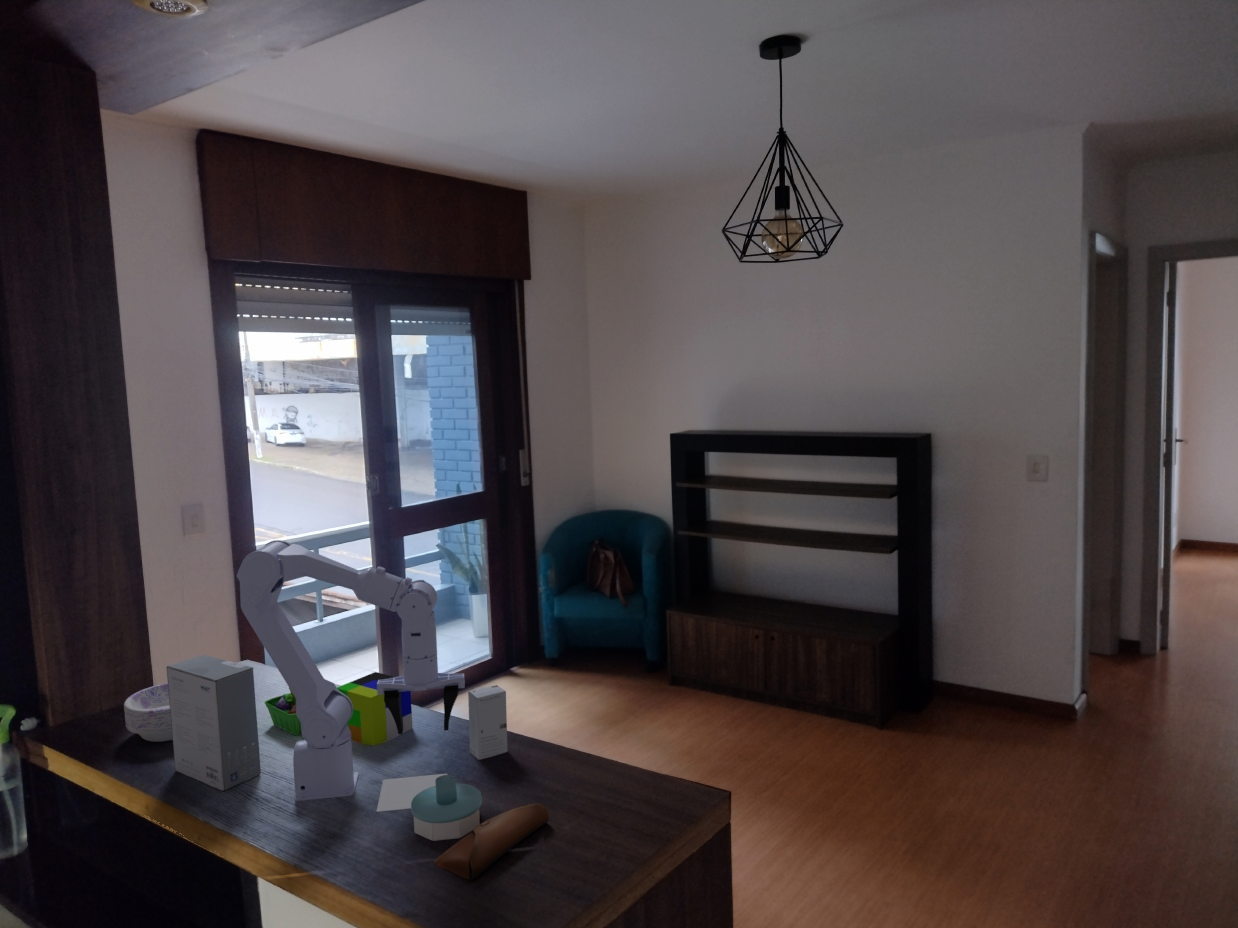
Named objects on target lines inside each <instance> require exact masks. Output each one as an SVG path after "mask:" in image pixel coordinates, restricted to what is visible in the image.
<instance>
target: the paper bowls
mask: <svg viewBox="0 0 1238 928" xmlns="http://www.w3.org/2000/svg"><path fill="white" fill-rule="evenodd" d="M123 710H124V720H125V727H126V729H127V730H128V731H129V732H130V733H133V734H135V735H137V734H138V735H139V736H140V737H141V738H142V739H143V740H145V741H149V742H155V743H157V742H161V743H162V742H168V741H173V738H172V726H171V715H170V703H169V691H168V682H166V683H161V684H156V685H153V686H150V687H147V688H143V689H140V690H139V691H137V692H135V693H133V694H131V695H130V696H128V698H126V699H125V701H124V703H123Z"/></svg>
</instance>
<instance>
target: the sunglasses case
mask: <svg viewBox="0 0 1238 928" xmlns="http://www.w3.org/2000/svg"><path fill="white" fill-rule="evenodd" d="M549 817H550V815H549V812H548V810H547V808H546V807H545V806H544V805H543V804H541V803H531V804H527V805H523V806H518V807H516V808H512V809H509V810H507V811H504V812H502V813H500V814H498V815H495V816H493V817H490V818H489V819H486V820H484V821H482V822H481V823H480V825H478V826H476V827H475V828H474V829H473V830H472V831H471V832H469V833H467V834H466V835H465V836H463V837H462V838H461V839H460V840H458V841H457V842H455V844H453V845H451V847H449V848H447V850H445V851H444V852H443V853H442V854H441V855H440V856H438V857H437V858H436V859H435V860H434V862H433V864H434V867H439V868H442V869H444V870H446V871H448V872H450V873H453V874H455V875H458V876H459V877H462V878H464V879H467V880H470V881H469V882H472V881H473V880H474V879H477V877H479V876H480V875H481V874H482V873H484V872H485V871H486V870H487V869H488V868H490V867H491V866H492V865H493V864H494V863H495V862H496V861H498V859H500V858H501V857H502V856H503V855H504V854H506V853H507V852H509V851H510V850H511V849H513V848H514V847H515V846H517V845H518V844H519V843H520V842H521V841H523V840H524V839H526V838H528V837H529V836H531V834H533V833H535V832H536V831H537V830H539V829H540V828H541V827H542V826H544V825H545V824H547V823H548V822H549V820H550V819H549Z"/></svg>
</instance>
